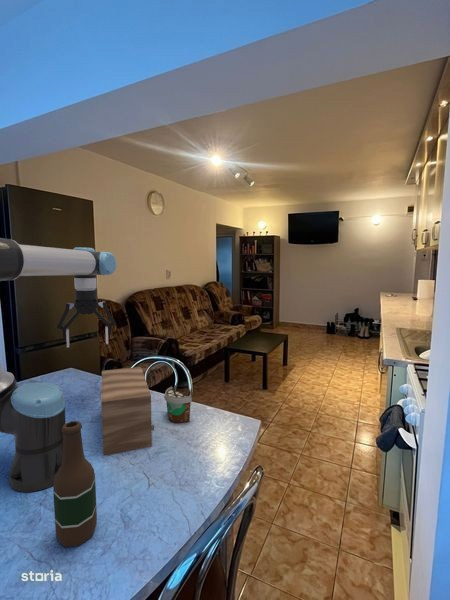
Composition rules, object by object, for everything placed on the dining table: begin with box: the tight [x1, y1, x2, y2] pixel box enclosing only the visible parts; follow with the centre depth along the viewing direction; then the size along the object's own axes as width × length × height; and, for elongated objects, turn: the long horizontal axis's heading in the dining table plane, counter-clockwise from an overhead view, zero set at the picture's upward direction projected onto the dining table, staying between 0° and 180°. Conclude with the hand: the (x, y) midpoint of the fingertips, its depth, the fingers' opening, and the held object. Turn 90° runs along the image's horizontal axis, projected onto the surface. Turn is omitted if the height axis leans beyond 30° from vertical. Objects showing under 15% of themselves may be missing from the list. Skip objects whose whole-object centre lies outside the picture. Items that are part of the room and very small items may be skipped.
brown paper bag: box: [100, 366, 153, 457], centre depth 106 cm, size 28×14×16 cm, turn 21°
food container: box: [163, 386, 193, 425], centre depth 112 cm, size 12×6×10 cm, turn 45°
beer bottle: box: [52, 420, 98, 548], centre depth 64 cm, size 8×8×24 cm
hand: (88, 345), depth 119 cm, fingers open, 13 cm apart
